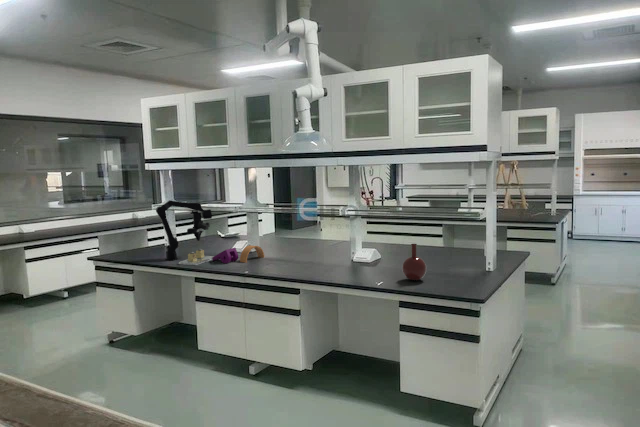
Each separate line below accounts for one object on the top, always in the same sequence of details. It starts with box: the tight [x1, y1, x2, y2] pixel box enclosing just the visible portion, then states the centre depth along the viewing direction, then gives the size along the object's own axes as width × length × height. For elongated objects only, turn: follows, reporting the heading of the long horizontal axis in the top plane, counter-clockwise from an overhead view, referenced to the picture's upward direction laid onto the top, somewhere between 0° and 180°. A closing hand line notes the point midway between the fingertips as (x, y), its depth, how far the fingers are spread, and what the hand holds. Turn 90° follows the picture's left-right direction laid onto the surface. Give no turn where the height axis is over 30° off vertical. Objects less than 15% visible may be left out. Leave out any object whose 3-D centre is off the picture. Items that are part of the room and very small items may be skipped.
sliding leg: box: [195, 248, 205, 258], centre depth 334 cm, size 4×4×6 cm
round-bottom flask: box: [401, 243, 427, 281], centre depth 258 cm, size 13×13×20 cm
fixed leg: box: [187, 251, 197, 262], centre depth 325 cm, size 4×4×6 cm
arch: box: [239, 244, 266, 264], centre depth 331 cm, size 6×20×10 cm, turn 147°
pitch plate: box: [178, 255, 215, 266], centre depth 331 cm, size 14×24×2 cm, turn 160°
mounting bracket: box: [211, 247, 239, 264], centre depth 328 cm, size 10×8×18 cm
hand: (198, 240), depth 347 cm, fingers closed
